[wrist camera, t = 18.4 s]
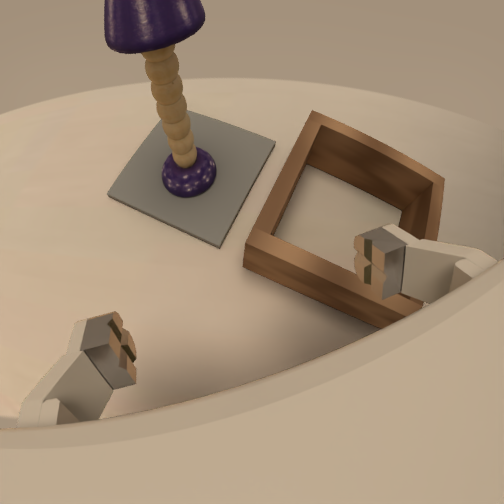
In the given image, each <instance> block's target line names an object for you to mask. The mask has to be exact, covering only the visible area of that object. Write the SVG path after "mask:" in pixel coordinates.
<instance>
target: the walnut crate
mask: <svg viewBox="0 0 504 504" xmlns="http://www.w3.org/2000/svg"><path fill="white" fill-rule="evenodd" d="M306 164H309V165H311V166H313V167H315V168H318V169H320V170H322V171H324V172H326V173H329V174H331V175H333V176H335V177H337V178H339V179H341V180H344V181H346V182H348V183H350V184H352V185H354V186H356V187H358V188H360V189H362V190H364V191H366V192H368V193H370V194H372V195H374V196H376V197H378V198H380V199H382V200H383V201H385V202H387V203H389V204H391V205H393V206H395V207H397V208H398V209H400V210H402V215H401V219H400V223H399V228H401V229H402V230H404V231H406V232H407V233H409V234H411V235H412V236H414V237H415V238H417V239H419V240H421V239H426V240H431V241H437V236H438V230H439V223H440V216H441V209H442V200H443V191H444V181H445V179H444V178H443V177H441V176H440V175H438V174H436V173H435V172H433V171H432V170H430V169H428V168H427V167H425V166H423V165H422V164H420V163H418V162H417V161H415V160H413V159H411V158H410V157H408V156H406V155H404V154H402V153H401V152H399V151H397V150H395V149H393V148H391V147H390V146H388V145H386V144H384V143H382V142H380V141H378V140H376V139H374V138H372V137H370V136H368V135H366V134H364V133H362V132H360V131H358V130H356V129H354V128H352V127H349V126H347V125H345V124H343V123H341V122H338V121H336V120H334V119H332V118H329V117H327V116H325V115H322V114H320V113H318V112H315V111H313V110H312V111H311V113H310V115H309V117H308V119H307V121H306V123H305V125H304V127H303V129H302V131H301V133H300V135H299V137H298V139H297V141H296V143H295V145H294V147H293V149H292V151H291V153H290V155H289V157H288V159H287V161H286V163H285V165H284V167H283V169H282V171H281V173H280V175H279V176H278V178H277V180H276V182H275V184H274V186H273V188H272V190H271V192H270V194H269V196H268V198H267V200H266V202H265V204H264V206H263V208H262V210H261V212H260V214H259V216H258V218H257V220H256V222H255V224H254V226H253V228H252V230H251V232H250V234H249V237H248V239H247V241H246V243H245V250H244V259H243V267H244V268H246V269H249V270H251V271H253V272H255V273H257V274H260V275H262V276H264V277H266V278H268V279H270V280H273V281H275V282H277V283H279V284H281V285H284V286H286V287H288V288H290V289H293V290H295V291H297V292H299V293H301V294H304V295H306V296H308V297H310V298H313V299H315V300H317V301H319V302H321V303H324V304H326V305H328V306H330V307H333V308H335V309H337V310H340V311H342V312H344V313H346V314H349V315H351V316H353V317H355V318H358V319H360V320H362V321H364V322H367V323H369V324H371V325H374V326H376V327H378V328H381V329H383V328H385V327H387V326H389V325H391V324H393V323H395V322H397V321H399V320H401V319H403V318H405V317H407V316H408V315H410V314H412V313H414V312H416V311H418V310H420V309H422V306H423V302H424V301H421V300H418V299H416V298H413V297H411V296H408V295H405V294H403V293H401V292H400V293H398V294H395V295H393V296H391V297H388V298H386V299H383V300H381V299H380V298H379V297H378V296H377V295H376V294H375V293H374V292H373V291H372V290H371V285H369V284H365V283H363V282H362V281H361V280H360V279H359V277H358V275H357V274H355V273H352V272H350V271H348V270H346V269H344V268H342V267H340V266H338V265H335V264H333V263H331V262H329V261H327V260H325V259H322V258H320V257H318V256H316V255H314V254H312V253H309V252H307V251H305V250H303V249H301V248H299V247H296V246H294V245H292V244H290V243H288V242H285V241H283V240H281V239H279V238H277V237H274V236H273V235H274V233H275V231H276V229H277V227H278V224H279V222H280V220H281V218H282V216H283V214H284V211H285V209H286V207H287V205H288V203H289V201H290V198H291V196H292V194H293V192H294V190H295V187H296V185H297V183H298V181H299V179H300V177H301V174H302V172H303V170H304V168H305V166H306Z"/></svg>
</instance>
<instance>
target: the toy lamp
mask: <svg viewBox="0 0 504 504" xmlns="http://www.w3.org/2000/svg"><path fill="white" fill-rule="evenodd" d="M204 21H205V12H204V8H203V6H202V4H201V1H200V0H105V7H104V30H105V40H106V43H107V45H108V47H110V49H112V50H114V51H116V52H119V53H125V54H133V53H134V54H136V53H141V54H142V55H143V57H144V58H145V59H146V62H145V69H146V74H147V76H148V78H149V79H150V80H151V81H152V82H151V91H152V95H153V97H154V98H155V100H156V101H157V112H158V115H159V117H160V118H161V119H162V126H163V130H164V132H165V134H166V135H167V136H168V138H167V139H168V145H169V147H170V148H171V150H172V153H171V154H170V155H169V156H168V157H167V159H166V160H165V162H164V164H163V167H162V181H163V184H164V186H165V188H166V189H167V190H168V191H169V192H170V193H172V194H173V195H176V196H179V197H192V196H196V195H199V194H201V193H203V192H204V191H206V190H207V189H208V188H209V187H210V186H211V185H212V184H213V182H214V180H215V178H216V172H217V168H216V164H215V161H214V160H213V158H212V157H211V155H210V154H209V153H208V152H207V151H205V150H203V149H201V148H199V147H195V145H194V136H193V133H192V131H191V129H190V127H191V122H190V117H189V115H188V114H187V112H186V111H187V104H186V100H185V98H184V96H183V94H182V91H183V85H182V80H181V78H180V76H179V75H178V70H179V62H178V58H177V56H176V54H175V53H174V52H173V51H174V48H175V44H176V43H179V42H181V41H183V40H185V39H186V38H188V37H190V36H192V35H193V34H195V33H196V32H197V31H198V30H199V29H200V28H201V27H202V25H203V24H204Z"/></svg>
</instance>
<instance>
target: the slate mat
mask: <svg viewBox="0 0 504 504" xmlns="http://www.w3.org/2000/svg"><path fill="white" fill-rule="evenodd" d="M186 112H187V114H188V115H189V117H190V122H191V127H190V129H191V131H192V133H193V136H194V145H195V147H199V148H201V149H203V150H205V151H207V152H208V153H209V154H210V155H211V157H212V158H213V160H214V161H215V164H216V168H217V172H216V178H215V180H214V182H213V184H212V185H211V186H210V187H209V188H208V189H207V190H206V191H204V192H203V193H201V194H199V195H196V196H192V197H179V196H176V195H173V194H172V193H170V192H169V191H168V190H167V189H166V188H165V186H164V184H163V181H162V167H163V164H164V162H165V160H166V159H167V157H168V156H169V155H170V154H171V153H172V150H171V148H170V147H169V145H168V139H167V138H168V136H167V135H166V134H165V132H164V130H163V126H162V119H161V120H160V121H159V123H158V124H157V125H156V126H155V128H154V129H153V130H152V131H151V133H150V134H149V135H148V136H147V138H146V139H145V140H144V142H143V143H142V144H141V146H140V147H139V148H138V150H137V151H136V152H135V154H134V155H133V156H132V158H131V159H130V161H129V162H128V163H127V165H126V166H125V168H124V169H123V170H122V172H121V173H120V175H119V176H118V178H117V179H116V181H115V182H114V184H113V185H112V187H111V188H110V190H109V191H108V193H107V195H108V196H109V197H111V198H113V199H115V200H117V201H119V202H121V203H123V204H125V205H128V206H130V207H132V208H134V209H136V210H138V211H140V212H142V213H145V214H147V215H149V216H151V217H153V218H155V219H157V220H159V221H162V222H164V223H166V224H168V225H170V226H172V227H174V228H177V229H179V230H181V231H183V232H185V233H187V234H189V235H192V236H194V237H196V238H198V239H200V240H202V241H205V242H207V243H209V244H211V245H213V246H215V247H218V248H220V247H221V245H222V243H223V241H224V239H225V237H226V235H227V233H228V231H229V230H230V228H231V226H232V224H233V222H234V220H235V218H236V216H237V214H238V212H239V211H240V209H241V207H242V205H243V203H244V201H245V199H246V197H247V196H248V194H249V192H250V190H251V188H252V186H253V184H254V183H255V181H256V179H257V177H258V175H259V173H260V171H261V170H262V168H263V166H264V164H265V162H266V161H267V159H268V157H269V155H270V153H271V151H272V150H273V148H274V146H275V143H276V141H273V140H271V139H268V138H266V137H263V136H260V135H258V134H255V133H252V132H250V131H247V130H244V129H242V128H239V127H236V126H233V125H231V124H228V123H225V122H222V121H219V120H216V119H213V118H210V117H207V116H204V115H201V114H198V113H195V112H191V111H188V110H187V111H186Z"/></svg>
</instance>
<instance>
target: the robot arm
mask: <svg viewBox="0 0 504 504" xmlns="http://www.w3.org/2000/svg"><path fill="white" fill-rule="evenodd" d="M354 248H355V249H356V251H357V254H356V256H355V258H354V267H355V270H356V273H357V275H358V277H359V279H360V280H361V281H362V282H363V283H365V284H369V285H371V290H372V291H373V292H374V293H375V294H376V295H377V296H378V297H379V298H380V299H381V300H383V299H386V298H388V297H391V296H393V295H395V294H398V293H400V292H401V293H403V294H405V295H408V296H411V297H413V298H416V299H418V300H421V301H424V302H426V303H429V305H427V306H425V307H423V308H422V309H420V310H418V311H416V312H414V313H412V314H410V315H408V316H407V317H405V318H403V319H401V320H399V321H397V322H395V323H393V324H391V325H389V326H387V327H385V328H383V329H381V330H378V331H376V332H374V333H372V334H370V335H368V336H366V337H364V338H361V339H359V340H357V341H355V342H353V343H350V344H348V345H346V346H343V347H341V348H339V349H337V350H334V351H332V352H329V353H327V354H325V355H322V356H320V357H317V358H315V359H312V360H310V361H307V362H305V363H302V364H300V365H297V366H295V367H292V368H289V369H287V370H284V371H281V372H278V373H276V374H273V375H270V376H267V377H264V378H261V379H258V380H255V381H252V382H249V383H246V384H243V385H240V386H237V387H234V388H231V389H227V390H224V391H221V392H217V393H214V394H211V395H207V396H203V397H200V398H196V399H192V400H189V401H185V402H181V403H177V404H173V405H169V406H164V407H160V408H156V409H151V410H147V411H142V412H137V413H132V414H127V415H122V416H116V417H110V418H105V419H99V418H100V416H101V414H102V412H103V410H104V408H105V406H106V404H107V402H108V401H109V399H110V397H111V395H112V393H113V390H115V389H119V388H123V387H127V386H130V385H134V384H136V367H135V366H134V364H133V363H134V361H135V360H136V348H135V344H134V341H133V339H132V336H131V335H130V333H129V331H127V330H125V329H123V328H122V326H123V320H122V319H121V317H120V315H119V313H117V312H116V311H114V312H110V313H107V314H103V315H99V316H95V317H92V318H89V319H88V318H87V319H84V320H81V321H78V322H76V323H75V324H74V327H73V331H72V334H71V338H70V341H69V345H68V349H67V352H66V355H63V356H61V358H60V359H59V360H58V361H57V362H56V363H55V364H54V365H53V367H52V368H51V369H50V370H49V371H48V372H47V373H46V375H45V376H44V377H43V378H42V379H41V380H40V382H39V383H38V384H37V385H36V386H35V387H34V389H33V390H32V391H31V392H30V393H29V395H28V396H27V397H26V398H25V399H24V401H23V402H22V405H21V409H20V413H19V417H18V422H17V427H16V428H9V429H0V504H504V258H503V259H502V260H500V261H499V262H498V261H497V260H495V259H494V258H492V257H491V256H489V255H488V254H486V253H485V252H483V251H481V250H480V249H476V248H471V247H465V246H460V245H454V244H449V243H443V242H437V241H431V240H426V239H421V240H419V239H417V238H415V237H414V236H412V235H411V234H409V233H407V232H406V231H404V230H402V229H401V228H399V227H397V226H396V225H394V224H387V225H384V226H382V227H379V228H377V229H374V230H371V231H368V232H366V233H363V234H360V235H358V236H355V239H354Z"/></svg>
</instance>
